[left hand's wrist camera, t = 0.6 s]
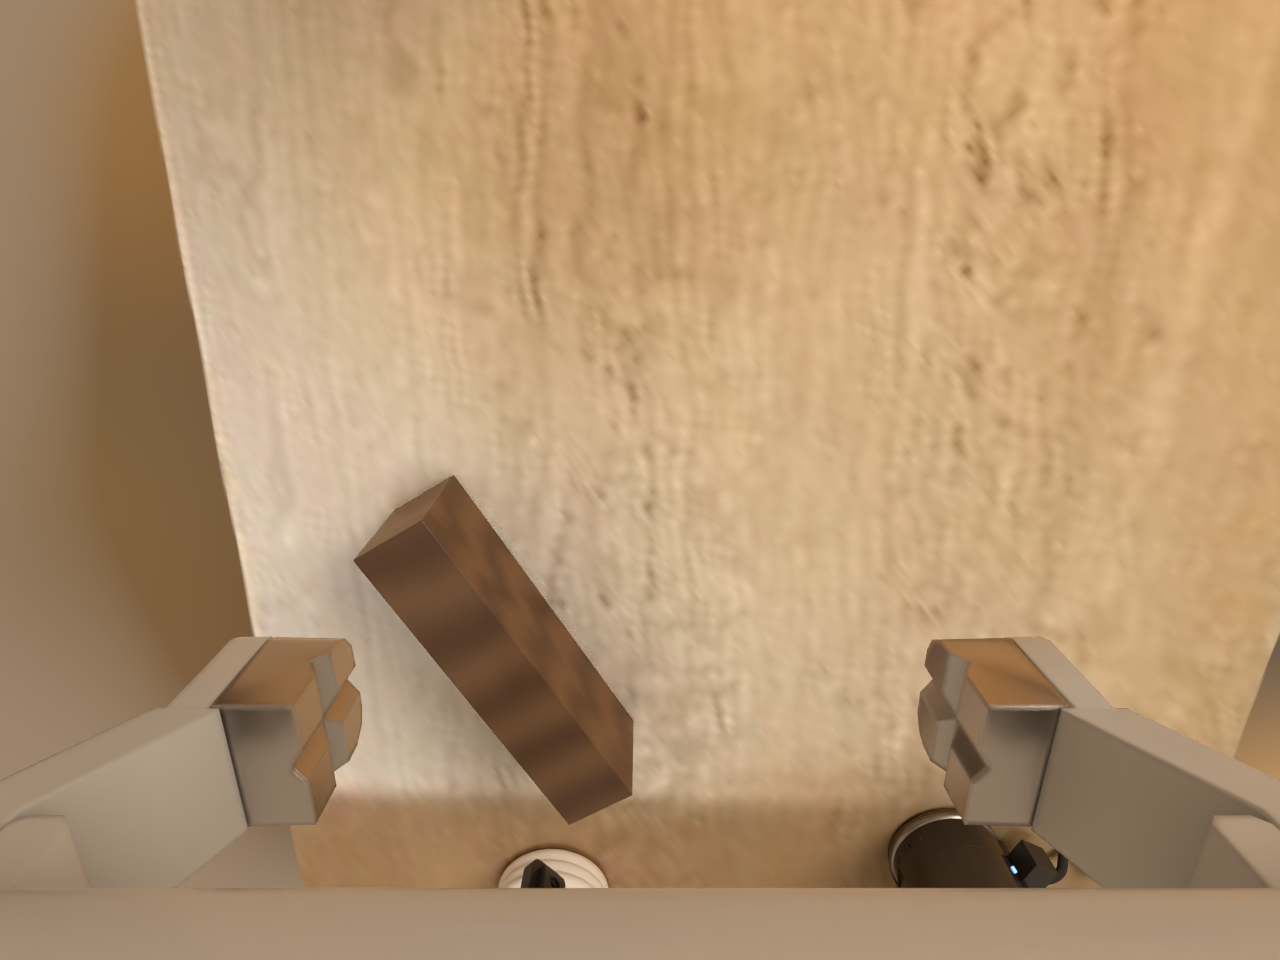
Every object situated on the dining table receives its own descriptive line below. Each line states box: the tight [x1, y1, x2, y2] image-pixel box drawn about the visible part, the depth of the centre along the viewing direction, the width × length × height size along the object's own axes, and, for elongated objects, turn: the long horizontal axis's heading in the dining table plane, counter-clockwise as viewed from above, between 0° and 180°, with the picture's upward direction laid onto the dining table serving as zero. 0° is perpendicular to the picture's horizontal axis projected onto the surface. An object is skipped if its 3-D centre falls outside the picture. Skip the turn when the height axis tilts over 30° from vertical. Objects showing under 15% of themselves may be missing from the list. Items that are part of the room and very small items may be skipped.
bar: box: [354, 476, 633, 825], centre depth 53 cm, size 25×6×8 cm, turn 31°
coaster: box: [498, 849, 608, 888], centre depth 65 cm, size 10×10×4 cm
